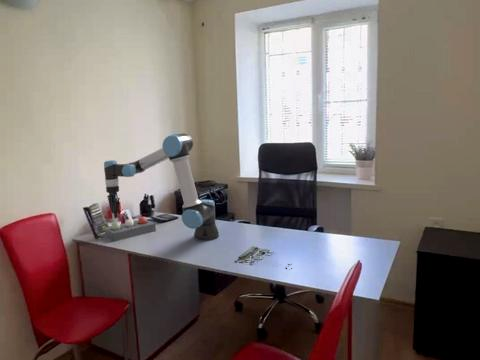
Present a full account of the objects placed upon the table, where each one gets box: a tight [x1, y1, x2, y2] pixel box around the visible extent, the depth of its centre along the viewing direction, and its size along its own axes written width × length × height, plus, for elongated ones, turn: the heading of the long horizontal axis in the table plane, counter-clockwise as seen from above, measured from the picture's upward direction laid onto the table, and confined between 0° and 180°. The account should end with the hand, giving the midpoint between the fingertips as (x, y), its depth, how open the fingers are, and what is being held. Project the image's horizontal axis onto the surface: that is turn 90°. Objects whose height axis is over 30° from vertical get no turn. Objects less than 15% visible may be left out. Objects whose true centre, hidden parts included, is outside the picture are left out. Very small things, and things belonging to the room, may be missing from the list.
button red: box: [137, 216, 147, 225], centre depth 248 cm, size 5×5×4 cm
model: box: [234, 245, 273, 264], centre depth 193 cm, size 21×30×2 cm
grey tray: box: [103, 219, 157, 242], centre depth 242 cm, size 16×28×5 cm, turn 132°
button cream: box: [124, 218, 134, 228], centre depth 242 cm, size 5×5×4 cm
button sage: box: [111, 221, 121, 231], centre depth 236 cm, size 5×5×4 cm
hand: (115, 222), depth 235 cm, fingers closed
